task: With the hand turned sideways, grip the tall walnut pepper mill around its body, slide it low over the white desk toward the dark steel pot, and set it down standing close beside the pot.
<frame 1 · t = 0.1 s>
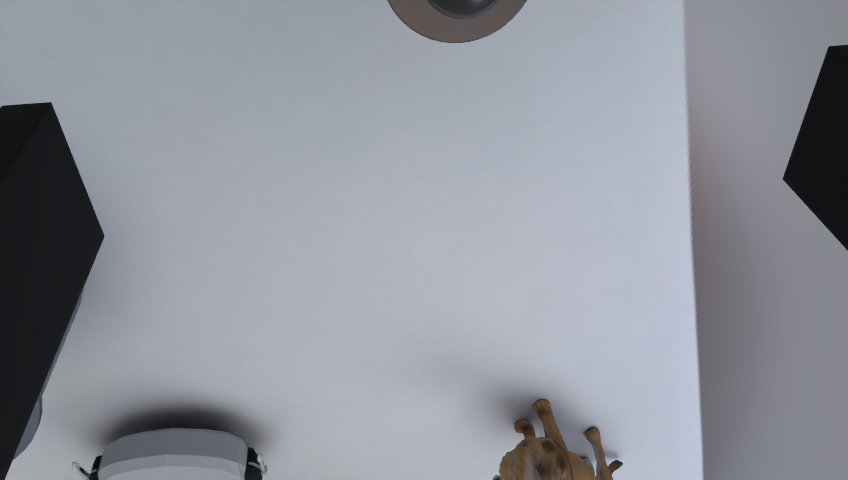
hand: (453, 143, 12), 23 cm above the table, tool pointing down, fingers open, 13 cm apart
lion figurine: (548, 428, 56), on the table
robot toy: (191, 465, 54), on the table
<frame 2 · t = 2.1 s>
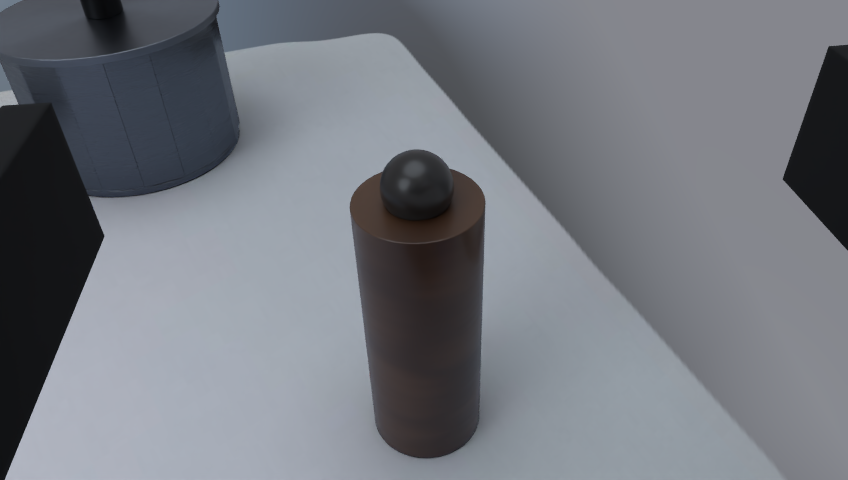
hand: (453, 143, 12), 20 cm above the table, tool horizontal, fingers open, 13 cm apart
pepper mill: (427, 413, 32), on the table
pot: (146, 144, 52), on the table
pot lid: (106, 19, 46), point 9 cm above the table, touching pot
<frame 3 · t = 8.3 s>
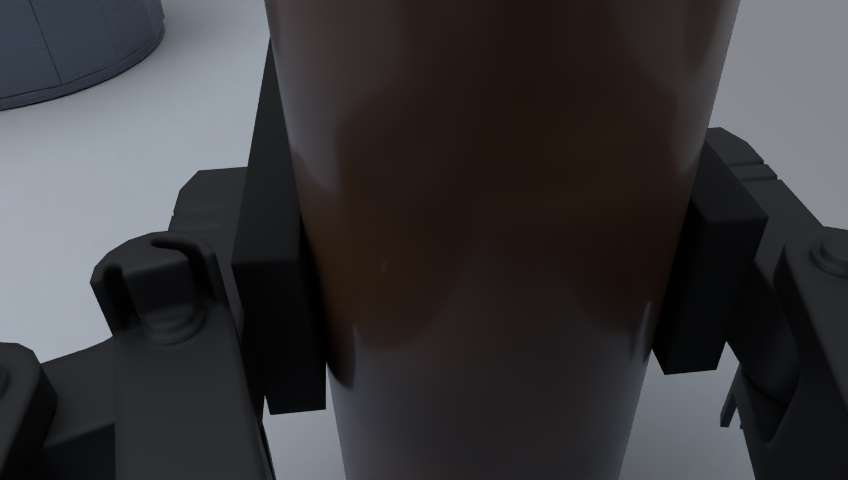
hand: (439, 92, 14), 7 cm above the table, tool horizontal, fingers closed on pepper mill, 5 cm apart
pot: (20, 47, 34), on the table
when the fingers open (7 cm above the table, at t = 14.3 s): pepper mill stays where it is, on the table.
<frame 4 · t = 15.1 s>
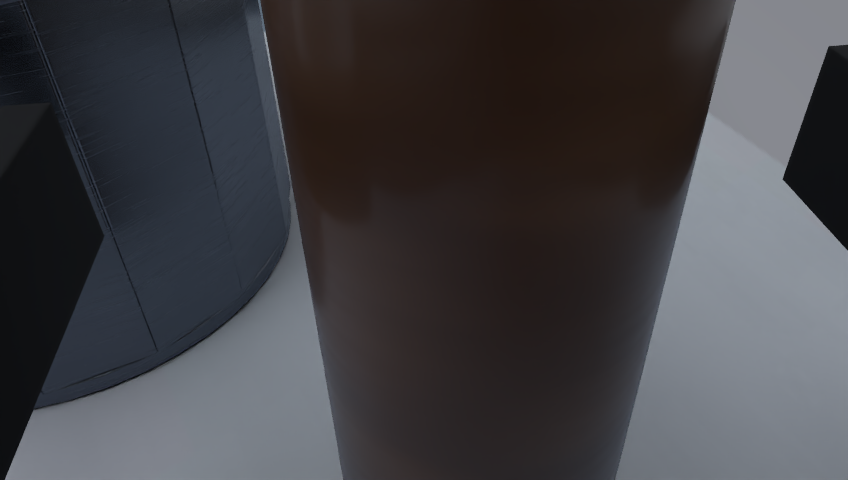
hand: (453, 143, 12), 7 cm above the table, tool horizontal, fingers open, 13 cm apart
pot: (74, 240, 22), on the table
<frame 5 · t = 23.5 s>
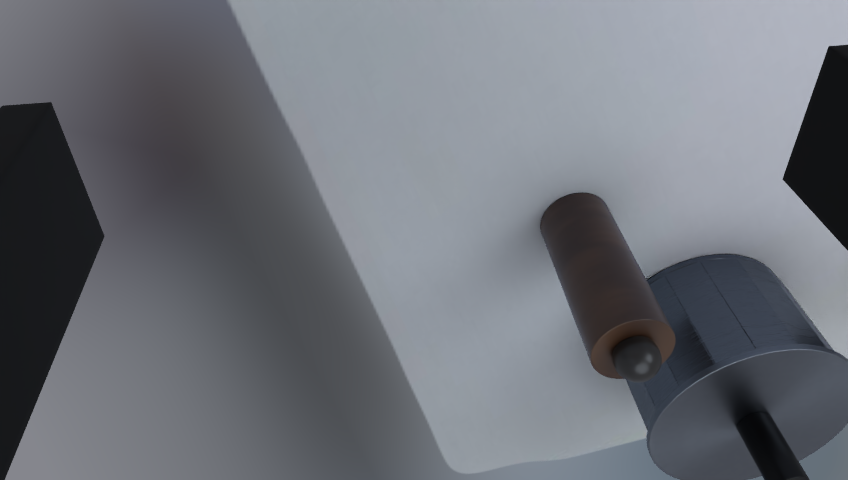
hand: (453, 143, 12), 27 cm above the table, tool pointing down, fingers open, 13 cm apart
pepper mill: (574, 221, 48), on the table
pot: (695, 319, 56), on the table
pot lid: (750, 417, 48), point 9 cm above the table, touching pot
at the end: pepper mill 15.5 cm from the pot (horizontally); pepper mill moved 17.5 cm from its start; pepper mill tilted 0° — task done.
